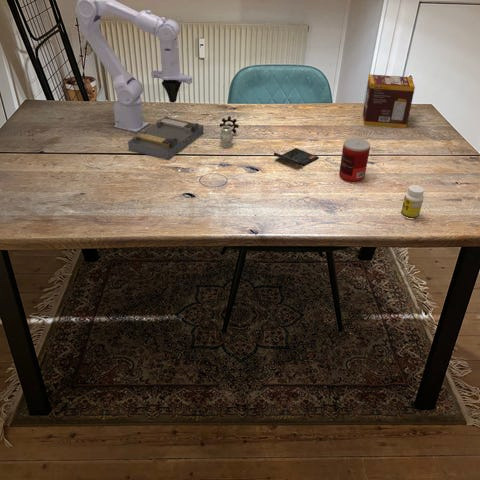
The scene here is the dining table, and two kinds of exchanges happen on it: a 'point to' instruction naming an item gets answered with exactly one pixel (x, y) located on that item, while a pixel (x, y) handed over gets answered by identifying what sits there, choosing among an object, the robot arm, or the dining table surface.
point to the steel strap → (177, 124)
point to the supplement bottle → (413, 201)
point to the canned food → (354, 159)
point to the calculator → (298, 157)
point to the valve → (227, 132)
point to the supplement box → (388, 101)
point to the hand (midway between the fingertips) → (173, 101)
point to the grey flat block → (177, 135)
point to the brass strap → (154, 139)
